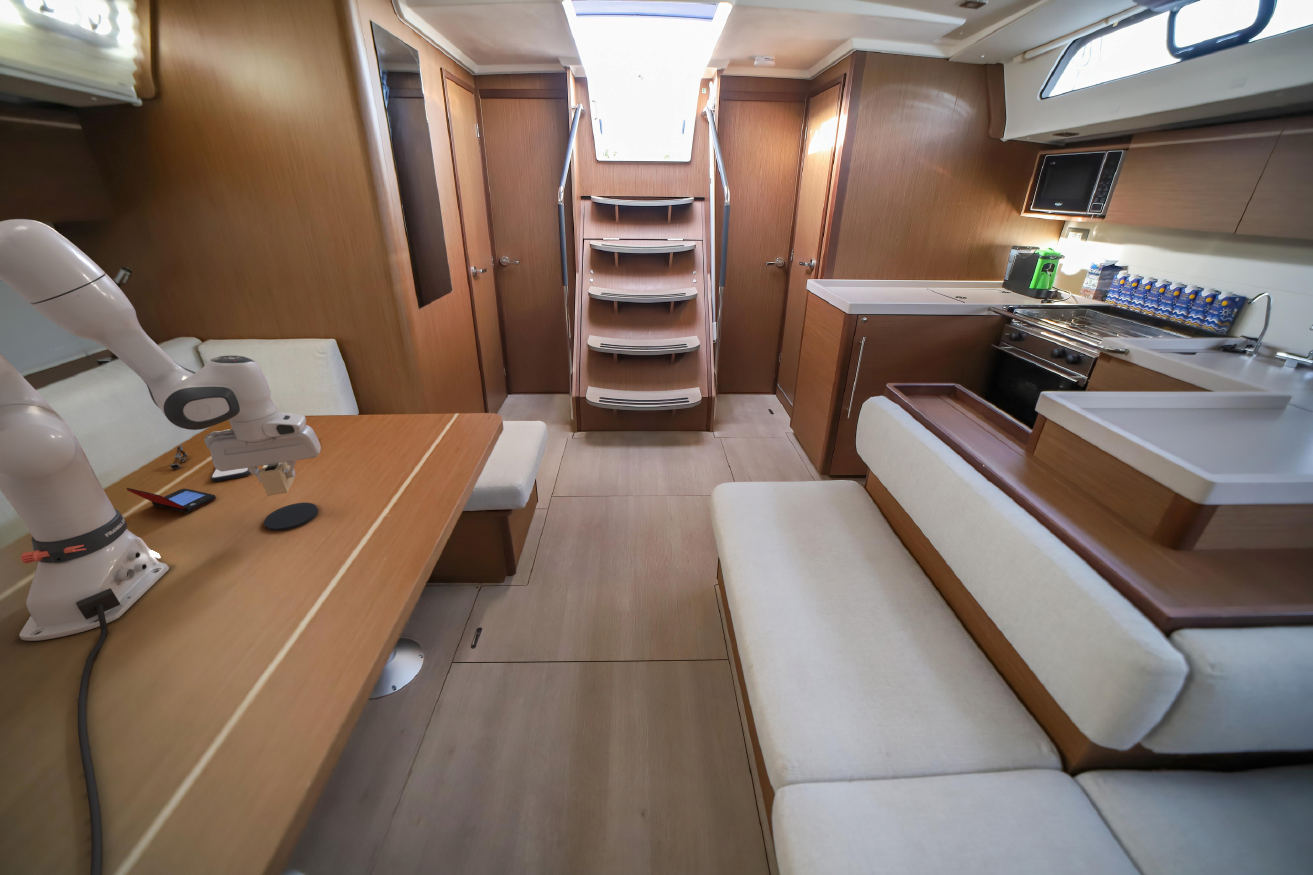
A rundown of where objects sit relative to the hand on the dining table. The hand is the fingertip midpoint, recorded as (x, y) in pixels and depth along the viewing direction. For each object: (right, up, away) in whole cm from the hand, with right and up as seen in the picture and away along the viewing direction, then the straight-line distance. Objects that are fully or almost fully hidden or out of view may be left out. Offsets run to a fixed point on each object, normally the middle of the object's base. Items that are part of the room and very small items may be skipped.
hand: (278, 478), depth 118 cm
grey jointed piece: (-50, +2, +28) cm, 58 cm away
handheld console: (-32, -8, +9) cm, 34 cm away
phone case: (-33, +1, +27) cm, 42 cm away
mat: (0, -10, +5) cm, 11 cm away
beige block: (0, -2, +1) cm, 2 cm away
